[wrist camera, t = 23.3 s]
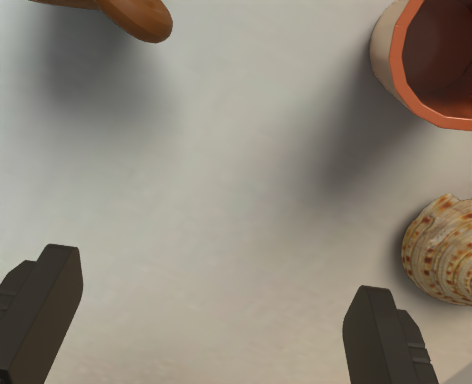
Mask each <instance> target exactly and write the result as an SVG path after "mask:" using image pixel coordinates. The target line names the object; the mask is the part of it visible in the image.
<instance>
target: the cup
mask: <svg viewBox="0 0 472 384" xmlns="http://www.w3.org/2000/svg"><path fill="white" fill-rule="evenodd" d="M369 52H370V53H369V54H370V62H371V65H372V69H373V72H374V74H375V75H376V77H377V78H378V80H379V81H380V82H381V83H382V85H383V86H384V87H385V89H386V90H388V91H389V92H390V93H391V94H392V95H393V96H394V97H395V98H396V99H398V100H399V101H400V102H401V103H402V104H403V105H404V106H405V107H407V108H408V109H409V110H410V111H411V112H412V113H413V114H415V115H417V116H418V117H420V118H422V119H424V120H426V121H428V122H430V123H431V124H433V125H435V126H437V127H440V128H445V129H454V130H464V131H472V0H396V1H395V2H393V3H392V4H391V5H390V6H389V7H388V8H386V10H385V11H384V12H383V14H382V15H381V17H380V18H379V20H378V22H377V24H376V25H375V27H374V30H373V33H372V36H371V40H370V48H369Z"/></svg>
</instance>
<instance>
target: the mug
mask: <svg viewBox="0 0 472 384" xmlns="http://www.w3.org/2000/svg"><path fill="white" fill-rule="evenodd" d="M30 1H33V2H38V3H44V4H51V5H59V6H67V7H75V8H83V9H94V10H101V11H102V12H103V13H104V14H105V15H106V16H107V17H109V18H110V19H111V20H112V21H113V22H114V23H115V24H117V25H118V26H119V27H121V28H122V29H123V30H124V31H126V32H127V33H129V34H130V35H132V36H134V37H135V38H137V39H139V40H142V41H144V42H149V43H159V42H162V41H164V40H166V39H167V38H168V37H169V36H170V34H171V31H172V26H173V21H172V18H171V15H170V13H169V11H168V9H167V8H166V6H165V5H164V4H163V3H162V1H161V0H30Z"/></svg>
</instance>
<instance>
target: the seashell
mask: <svg viewBox="0 0 472 384" xmlns="http://www.w3.org/2000/svg"><path fill="white" fill-rule="evenodd" d="M401 255H402V264H403V266H404V269H405V271H406V273H407V275H408V276H409V277H410V279H411V280H412V281H413V282H414V283H415V284H416V285H417V286H418V287H419V288H420V289H421V290H423V291H424V292H425V293H426V294H428V295H430V296H432V297H434V298H436V299H438V300H441V301H444V302H448V303H452V304H457V305H467V306H472V199H468V200H463V201H461V200H459V199H458V198H456V197H455V196H454V195H452V194H450V193H448V194H445V195H444V196H442V197H440V198H438V199H436V200H434V201H433V202H431V203H430V205H429V206H427V207H426V208H424V210H423V211H422V212H421V214H420V215H419V217H418V218H416V219H414V221H412V224H411V225H410V226H409V227H408V229H407V231H406V234H405V236H404V239H403V243H402V250H401Z"/></svg>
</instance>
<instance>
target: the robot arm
mask: <svg viewBox="0 0 472 384" xmlns="http://www.w3.org/2000/svg"><path fill="white" fill-rule="evenodd" d="M82 292H83V277H82V269H81V261H80V254H79V249H78V248H77V247H72V246H64V245H57V244H48V245H47V246H46V247H45V248H44V250H43V251H42V253H41V255H40V256H39V258H38V260H37V261H29V260H25V261H23V262H22V263H21V264H19V265H18V266H17V267H15V268H14V269H13V270H12V271H10V272H9V273H8V274H7V275H6V277H5V278H4V280H3V281H2V283H1V284H0V384H44V382H45V380H46V378H47V375H48V373H49V371H50V369H51V366H52V364H53V362H54V360H55V357H56V355H57V353H58V351H59V348H60V346H61V344H62V342H63V339H64V337H65V335H66V333H67V331H68V328H69V326H70V324H71V322H72V319H73V317H74V315H75V313H76V310H77V308H78V306H79V303H80V301H81V297H82ZM342 333H343V342H344V348H345V353H346V359H347V364H348V370H349V376H350V381H351V384H439V383H438V380H437V377H436V374H435V371H434V369H433V366H432V364H430V361H431V360H430V357H429V355H428V352H427V349H425V343H424V341H423V338H422V335H421V332H420V329H419V327H418V326H417V324H416V323H415V322H414V320H413V319H412V318H411V316H410V315H409V314H408V313H407V311H406V310H399V309H397V308H396V305H395V302H394V299H393V296H392V293H391V291H390V290H389V289H386V288H378V287H371V286H364V285H362V286H360V287H359V289H358V291H357V293H356V295H355V297H354V299H353V301H352V303H351V305H350V307H349V309H348V311H347V313H346V315H345V318H344V321H343V330H342Z"/></svg>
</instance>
